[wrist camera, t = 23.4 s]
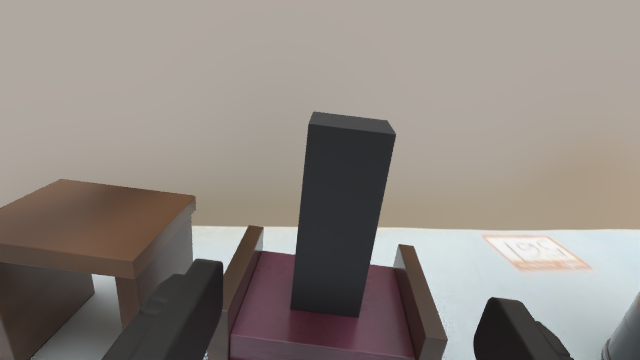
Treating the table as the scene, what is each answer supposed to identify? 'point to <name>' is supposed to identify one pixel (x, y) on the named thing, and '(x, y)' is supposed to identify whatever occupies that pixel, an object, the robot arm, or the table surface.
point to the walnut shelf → (84, 254)
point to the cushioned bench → (406, 280)
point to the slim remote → (339, 211)
